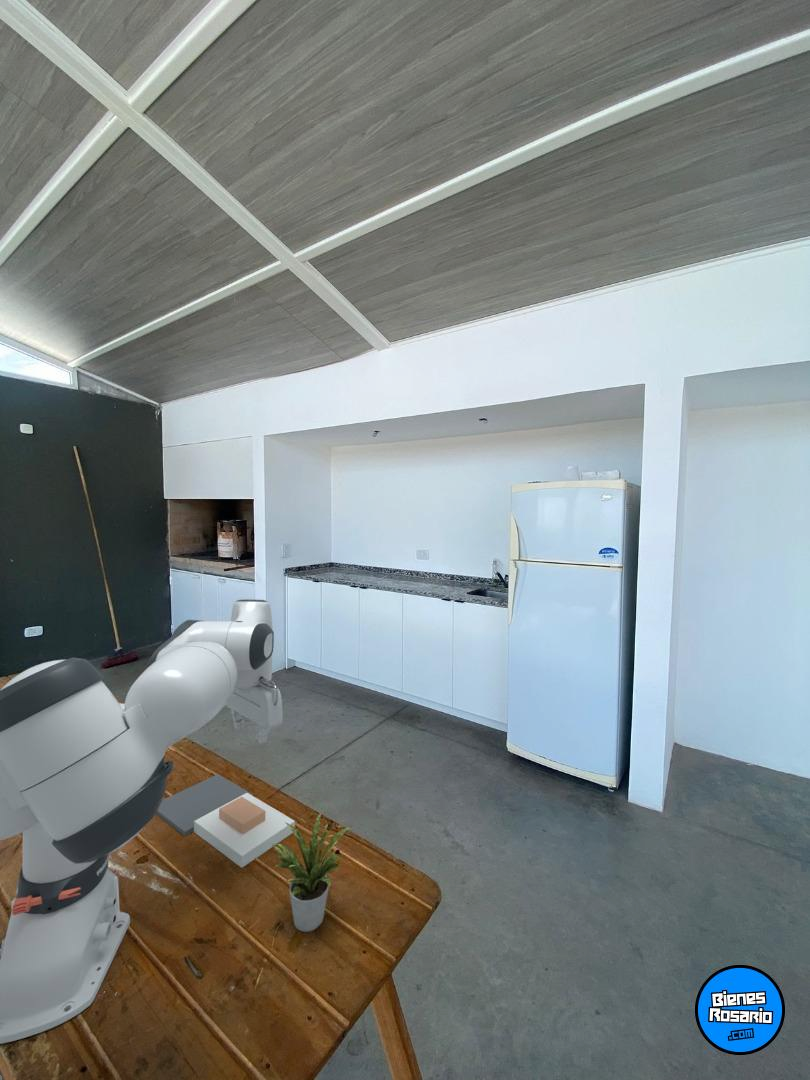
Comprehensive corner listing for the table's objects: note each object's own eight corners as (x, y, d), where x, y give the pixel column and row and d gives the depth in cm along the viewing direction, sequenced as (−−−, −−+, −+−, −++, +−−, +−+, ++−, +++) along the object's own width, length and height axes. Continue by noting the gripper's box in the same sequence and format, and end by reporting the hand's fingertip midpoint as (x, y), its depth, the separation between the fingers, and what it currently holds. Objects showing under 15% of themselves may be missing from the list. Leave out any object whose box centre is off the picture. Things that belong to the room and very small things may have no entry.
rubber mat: (252, 798, 116) (253, 794, 116) (184, 836, 101) (184, 831, 101) (218, 777, 125) (218, 774, 125) (150, 809, 110) (150, 805, 110)
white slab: (294, 831, 104) (294, 820, 104) (241, 867, 93) (241, 856, 92) (246, 802, 114) (246, 792, 114) (193, 831, 103) (194, 821, 103)
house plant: (334, 873, 92) (336, 794, 91) (366, 924, 80) (368, 834, 80) (264, 902, 84) (266, 817, 84) (287, 964, 73) (290, 865, 72)
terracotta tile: (265, 820, 104) (265, 810, 104) (242, 834, 99) (242, 824, 99) (241, 805, 109) (241, 796, 109) (218, 818, 104) (219, 808, 104)
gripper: (290, 680, 94) (289, 745, 94) (241, 659, 107) (240, 717, 108) (263, 687, 89) (262, 756, 89) (215, 665, 103) (214, 725, 103)
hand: (249, 735), depth 99 cm, fingers open, 8 cm apart
